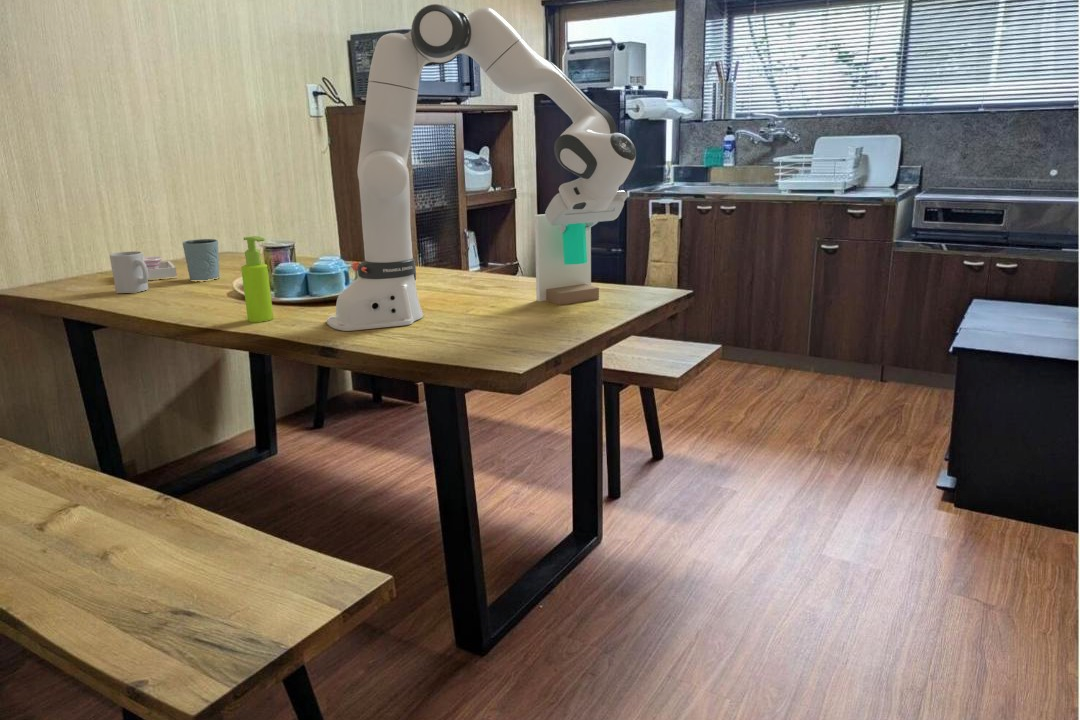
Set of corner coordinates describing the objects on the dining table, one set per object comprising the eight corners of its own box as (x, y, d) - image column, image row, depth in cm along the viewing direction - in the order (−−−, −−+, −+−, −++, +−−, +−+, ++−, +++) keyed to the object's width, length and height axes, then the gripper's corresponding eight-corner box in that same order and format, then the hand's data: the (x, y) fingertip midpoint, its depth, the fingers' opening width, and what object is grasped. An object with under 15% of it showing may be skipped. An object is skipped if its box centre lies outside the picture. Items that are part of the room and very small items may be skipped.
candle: (584, 263, 195) (581, 214, 193) (561, 264, 197) (558, 216, 194) (589, 261, 201) (587, 214, 198) (567, 262, 202) (564, 215, 200)
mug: (109, 292, 226) (102, 254, 223) (136, 287, 233) (129, 250, 230) (136, 296, 220) (130, 257, 217) (163, 290, 228) (157, 252, 224)
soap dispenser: (261, 323, 185) (251, 239, 179) (242, 320, 188) (231, 237, 183) (281, 318, 190) (271, 236, 184) (262, 315, 193) (252, 234, 187)
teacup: (152, 273, 257) (149, 254, 255) (180, 275, 252) (177, 256, 251) (121, 280, 246) (118, 260, 244) (150, 282, 242) (146, 262, 240)
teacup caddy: (121, 284, 239) (119, 272, 238) (118, 276, 252) (116, 265, 251) (177, 278, 246) (175, 267, 245) (171, 271, 259) (169, 260, 258)
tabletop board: (553, 306, 197) (551, 217, 191) (536, 300, 204) (534, 215, 197) (605, 298, 205) (605, 213, 198) (587, 293, 211) (587, 210, 205)
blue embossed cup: (204, 276, 249) (199, 238, 246) (230, 277, 246) (225, 239, 242) (180, 282, 240) (174, 242, 237) (207, 283, 237) (201, 243, 233)
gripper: (625, 181, 193) (602, 217, 204) (554, 184, 183) (534, 223, 194) (635, 200, 191) (611, 236, 201) (564, 205, 181) (543, 243, 192)
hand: (573, 230), depth 198 cm, fingers closed on candle, 5 cm apart
